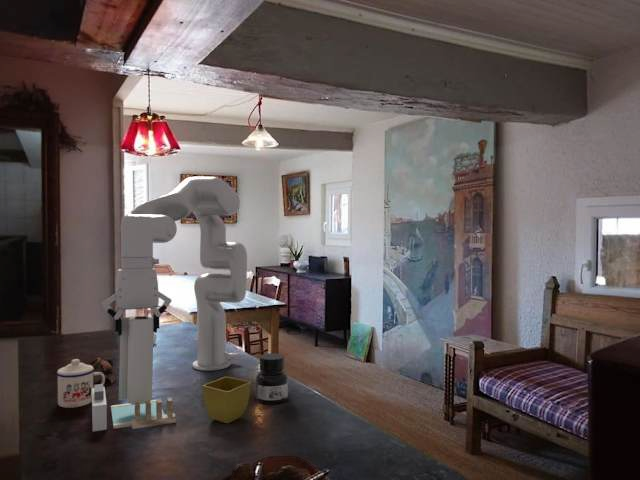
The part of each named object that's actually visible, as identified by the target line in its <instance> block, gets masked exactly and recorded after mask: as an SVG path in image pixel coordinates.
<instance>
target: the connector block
mask: <svg viewBox="0 0 640 480" xmlns="http://www.w3.org/2000/svg"><path fill="white" fill-rule="evenodd" d="M105 389H106V388H105V386H104V385H103V384H98V383H97V384H93V388H92V402H91V417H92V420H91V421H92V424H91V425H92V432H93V433H94V432H98V431H99V432H100V431H106V430H107V428H108V427H107V425H108V424H107V419H108V418H107V415H108V413H107V411H108V410H107V409H108V407H107V405H108V404H107V398H106V397H107V396H106V390H105Z"/></svg>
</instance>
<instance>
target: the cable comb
mask: <svg viewBox="0 0 640 480" xmlns="http://www.w3.org/2000/svg"><path fill="white" fill-rule="evenodd" d="M155 400H156V416H151V402H150V400H149V401H146V417H144V418H140V403H139V402H135V419H131V423H132V426H131V429H132V430H135V429H142V428H149V427H154V426H155V427H156V426H161V425H167V424H168V425H169V424H173V423H175V424H176V420H177V417H176V416H177V415H176V414H175V413H174V412H173V411H174V410H173V406H174V405H173V404H174V402H173V399H172V397H167V398H166V414H165V413H164V415H162V409H163V402H162V399H161V398H157V399H155Z"/></svg>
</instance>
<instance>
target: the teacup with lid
mask: <svg viewBox="0 0 640 480" xmlns="http://www.w3.org/2000/svg"><path fill="white" fill-rule="evenodd" d="M86 364H87V363H84V362H81V360H80V359H78V358H75V359H72V360H71V363H69V364H67V365H65V366H63V367H61V368H59V369H58V370H57V372H56V376H57V404H58V406H59V407H62V408H66V409H67V408H68V409H71V408H73V409H74V408H79V407H83V406H86V405H90V403H91V404H92V388H94V376H101V382H100V384H103V386H104V385H105V383H106V375H104V374H103V372H93V371H94V368H93V366H91V365H86Z"/></svg>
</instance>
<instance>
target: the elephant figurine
mask: <svg viewBox="0 0 640 480" xmlns="http://www.w3.org/2000/svg"><path fill="white" fill-rule="evenodd" d="M159 335H160V334H159V333H158V334H157V333H155V332H154V334H153V345H155V344H156V342H157V338H158V337H157V336H159Z"/></svg>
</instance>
